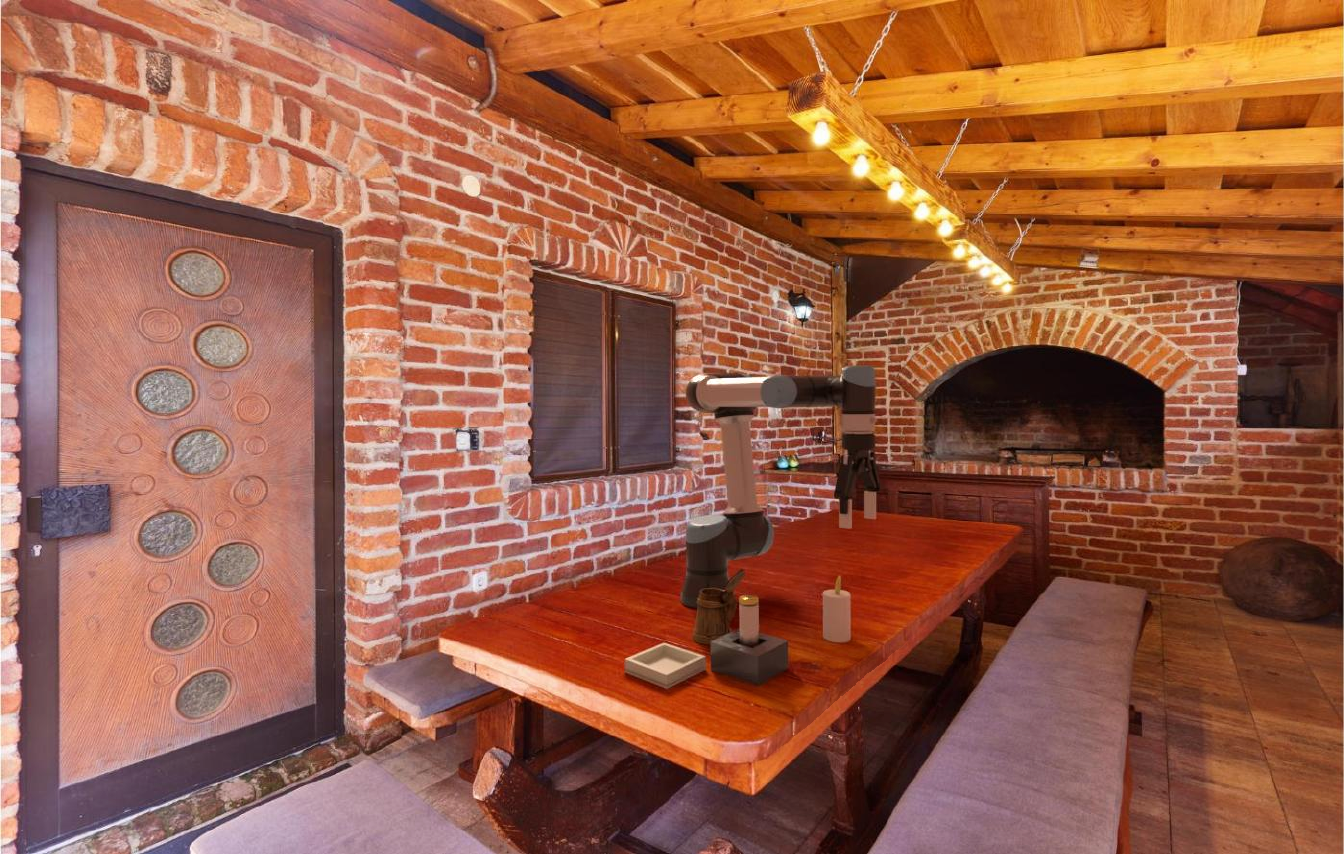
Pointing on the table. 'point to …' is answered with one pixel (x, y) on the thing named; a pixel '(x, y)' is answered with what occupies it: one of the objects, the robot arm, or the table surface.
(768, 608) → the table surface
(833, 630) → the candle
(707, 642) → the wooden mug
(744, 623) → the gold capped cylinder
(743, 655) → the block
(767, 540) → the robot arm
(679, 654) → the tray
